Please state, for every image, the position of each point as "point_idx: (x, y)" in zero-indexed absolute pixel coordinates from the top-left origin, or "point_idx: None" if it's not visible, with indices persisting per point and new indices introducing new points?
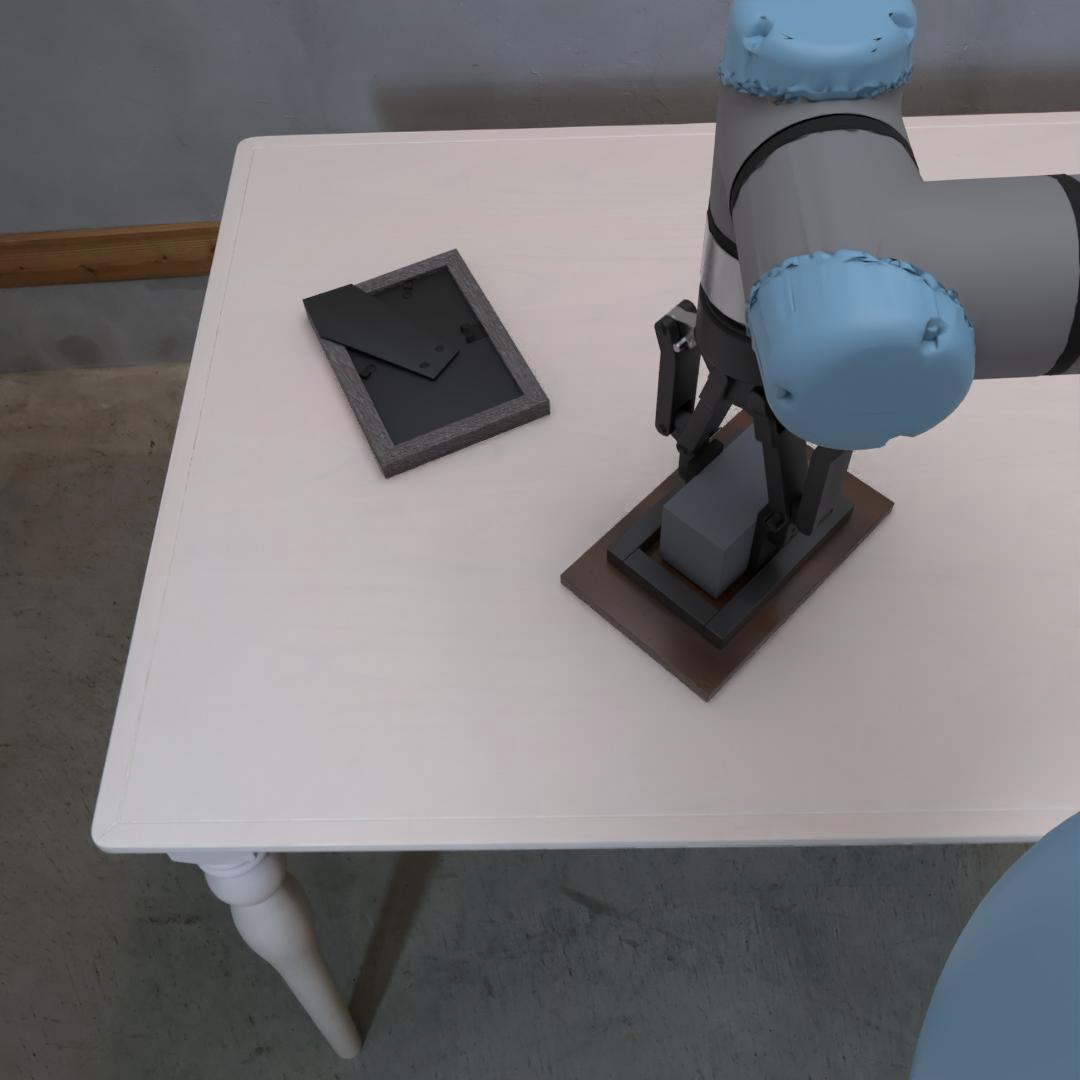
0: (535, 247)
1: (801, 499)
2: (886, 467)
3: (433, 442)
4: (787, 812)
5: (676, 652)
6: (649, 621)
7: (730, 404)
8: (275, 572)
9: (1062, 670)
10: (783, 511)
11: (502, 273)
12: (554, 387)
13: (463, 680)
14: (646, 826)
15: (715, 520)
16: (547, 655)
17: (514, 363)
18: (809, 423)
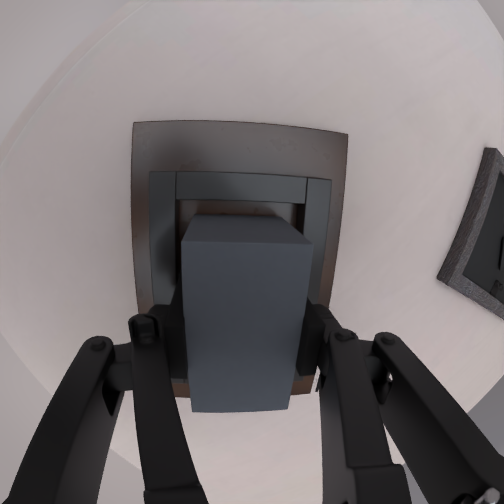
0: (475, 360)
1: (90, 390)
2: (186, 410)
3: (487, 189)
4: (39, 108)
5: (189, 136)
6: (237, 146)
7: (324, 455)
8: (475, 48)
9: (9, 340)
10: (134, 352)
11: (486, 334)
12: (441, 298)
13: (335, 14)
14: (119, 15)
15: (230, 277)
16: (297, 64)
17: (473, 290)
18: None
